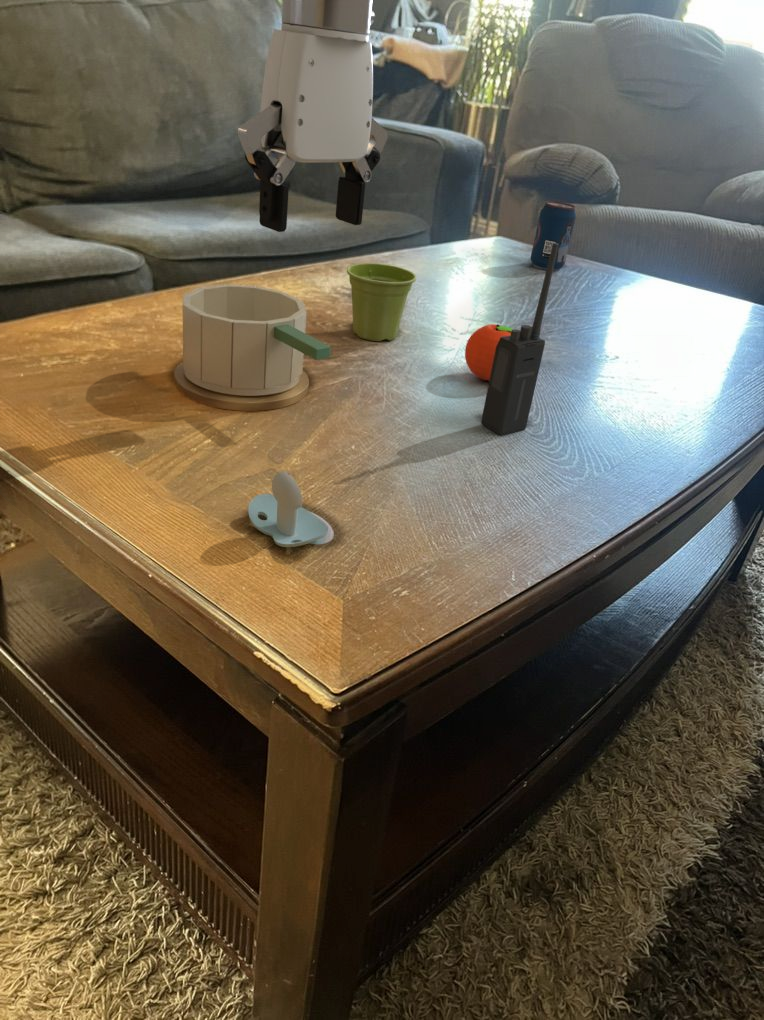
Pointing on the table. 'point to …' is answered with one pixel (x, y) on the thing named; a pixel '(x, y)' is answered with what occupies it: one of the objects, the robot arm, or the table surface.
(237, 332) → the pot
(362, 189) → the robot arm
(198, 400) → the disc
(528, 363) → the walkie-talkie
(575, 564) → the table surface
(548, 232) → the soda can
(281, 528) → the pacifier
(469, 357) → the clementine
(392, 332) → the plant pot
